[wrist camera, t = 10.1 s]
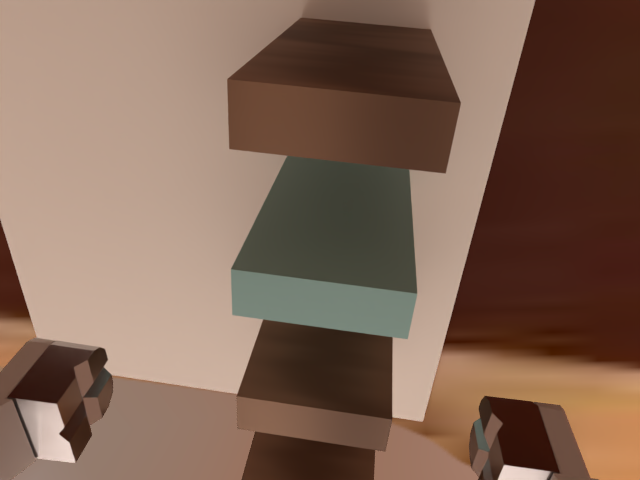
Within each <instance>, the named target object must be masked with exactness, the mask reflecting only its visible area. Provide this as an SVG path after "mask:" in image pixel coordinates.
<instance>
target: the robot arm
mask: <svg viewBox="0 0 640 480" xmlns="http://www.w3.org/2000/svg"><path fill="white" fill-rule="evenodd" d="M107 361H108V358H107V354H106V351H105V349H104V348H101V347H96V346H89V345H83V344H77V343H70V342H64V341H55V340H49V339H42V338H33V339H31V340H29V341H28V342H26V344H25V345H24V346H23V347H22V348H21V349H20V350H19V351H18V353H17V354H16V355H15V356H14V357H13V358H12V359H11V361H10V362H9V363H8V364H7V365H6V366H5V367H4V368H3V370H2V371H1V372H0V480H11V479H13V478H14V477H15V476H17V475H18V474H19V473H21V472H22V471H23V470H24V469H26V468H27V467H28V466H30V465H31V464H32V463H33V462H35V461H36V459H35V458H37V459H46V460H56V461H64V462H73V463H76V461H77V460H78V458H79V456H80V455H81V453H82V451H83V450H84V448H85V446H86V445H87V443H88V441H89V439H90V438H91V436H92V433H91V428H90V425H91V424H93V423H95V422H96V421H97V420H99V419H101V418H102V417H103V415H104V413H105V412H106V410H107V408H108V406H109V403H110V400H111V396H112V393H113V380H112V375H111V374H110V373H109V372H108V371H107V370H106V369H105V368H104V366H105V364H106V362H107ZM479 412H480V419H478V420H477V421H475V422H474V423H473V426H472V430H471V433H470V443H469V452H470V462H471V468H472V470H473V471H474V472H475V473H476V474H477V476H478V477H479V479H478V480H598V479H592V478H590V476H589V473H588V470H587V468H586V465H585V463H584V460H583V458H582V455H581V452H580V450H579V447H578V445H577V442H576V440H575V437H574V434H573V432H572V429H571V427H570V424H569V422H568V419H567V416H566V414H565V411H564V409H563V408H562V407H561V406H560V405H554V404H546V403H538V402H534V403H533V402H531V401H523V400H514V399H505V398H497V397H488V396H485V397H484V398H483V399H482V400H481V403H480V406H479Z"/></svg>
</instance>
